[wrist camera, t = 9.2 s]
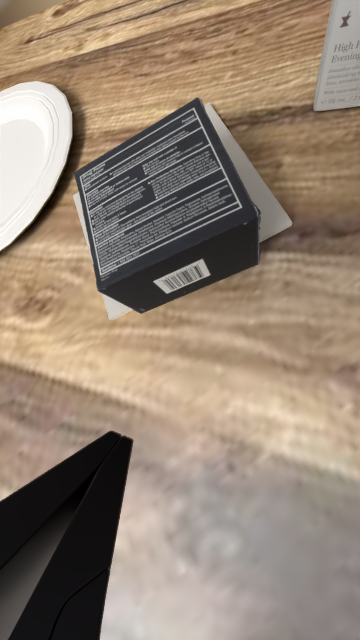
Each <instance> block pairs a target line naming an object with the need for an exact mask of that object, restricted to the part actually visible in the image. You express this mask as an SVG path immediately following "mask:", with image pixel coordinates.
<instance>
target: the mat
mask: <svg viewBox="0 0 360 640" xmlns="http://www.w3.org/2000/svg"><path fill="white" fill-rule="evenodd" d="M204 108H205V110H206V113H207V115H208V117H209V118H210V120H211V122H212V124H213V126H214V128H215V130H216V132H217V134H218V136H219V138H220V140H221V142H222V144H223V146H224V147H225V149H226V151H227V153H228V155H229V157H230V159H231V161H232V162H233V164H234V166H235V168H236V170H237V172H238V175H239V177H240V179H241V181H242V182H243V184H244V187H245V189H246V190H247V192H248V194H249V196H250V198H251V200H252V202H253V203H254V204H255V205H256V206H257V208H258V209H259V210H260V212H261V214H260V217H261V220H260V225H259V226H260V230H259V234H260V235H259V236H260V238H259V243H260V242H262V241H264V240H266V239H268V238H270V237H272V236H273V235H275V234H277V233H279V232H281V231H283V230H285V229H287V228H289V227H290V226H292V221H291V219H290V218H289V217H288V215H287V214H286V212H285V211H284V209H283V208H282V206H281V205H280V204H279V202H278V201H277V199H276V198H275V196H274V195H273V194H272V192H271V191H270V189H269V188H268V186H267V185H266V183H265V182H264V181H263V179H262V178H261V176H260V175H259V173H258V172H257V171H256V169H255V168H254V166H253V165H252V163H251V162H250V160H249V159H248V158H247V156H246V155H245V153H244V152H243V150H242V149H241V148H240V146H239V145H238V143H237V142H236V140H235V139H234V138H233V136H232V135H231V133H230V132H229V130H228V129H227V127H226V126H225V125H224V123H223V122H222V120H221V119H220V117H219V116H218V115H217V113H216V112H215V110H214V109H213V107H212V106H211V104H210V103H207V104H206V105H204ZM73 197H74V201H75V204H76V207H77V211H78V214H79V218H80V221H81V224H82V228H83V231H84V235H85V238H86V242H87V245H88V248H89V252H90V255H91V251H90V244H89V240H88V235H87V231H86V225H85V220H84V216H83V210H82V204H81V199H80V195H79V192H78V193H76V194H75V195H73ZM91 259H92V256H91ZM92 262H93V260H92ZM102 296H103V299H104V303H105V306H106V310H107V313H108V316H109V319H110V320H112V321H113V320H115V319H117V318H118V317H120V316H122V315H124V314H126V313H128V312H130V311H132V310H133V309H131V308H129V307H127V306H125V305H123V304H121V303H119V302H117V301H115V300H114V299H112V298H110V297H108V296H106V295H104V294H102Z"/></svg>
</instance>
